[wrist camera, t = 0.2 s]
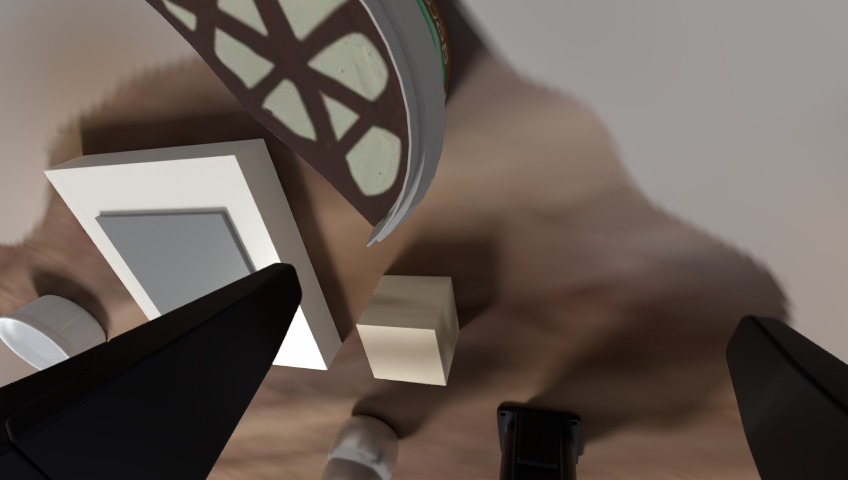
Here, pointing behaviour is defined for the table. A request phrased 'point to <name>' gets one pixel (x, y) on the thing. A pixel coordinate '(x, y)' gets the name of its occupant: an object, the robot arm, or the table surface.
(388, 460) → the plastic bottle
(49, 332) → the ramekin
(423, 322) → the birch block
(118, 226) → the base
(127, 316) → the table surface
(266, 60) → the food container
